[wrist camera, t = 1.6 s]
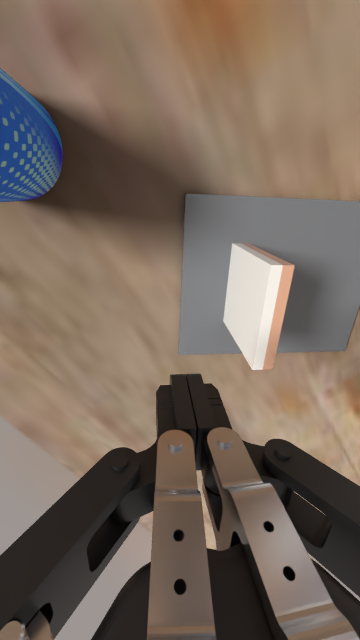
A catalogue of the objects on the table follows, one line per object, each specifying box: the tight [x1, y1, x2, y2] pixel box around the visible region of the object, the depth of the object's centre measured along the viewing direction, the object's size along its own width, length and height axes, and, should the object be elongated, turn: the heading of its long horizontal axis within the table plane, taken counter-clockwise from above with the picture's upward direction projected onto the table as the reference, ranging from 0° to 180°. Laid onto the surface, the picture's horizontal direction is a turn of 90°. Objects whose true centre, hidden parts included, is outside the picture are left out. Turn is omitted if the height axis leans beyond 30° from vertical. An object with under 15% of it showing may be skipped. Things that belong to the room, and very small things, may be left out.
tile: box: [223, 243, 295, 370], centre depth 26 cm, size 9×2×10 cm, turn 178°
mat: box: [178, 194, 360, 355], centre depth 32 cm, size 18×22×1 cm
